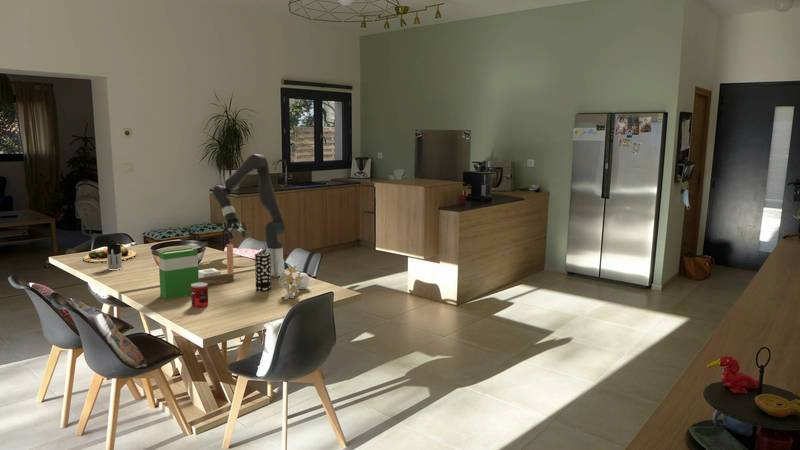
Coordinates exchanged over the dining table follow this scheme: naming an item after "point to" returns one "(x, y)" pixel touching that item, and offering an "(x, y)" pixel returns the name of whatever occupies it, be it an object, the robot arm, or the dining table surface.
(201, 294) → the canned food
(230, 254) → the terracotta dowel
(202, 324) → the dining table surface
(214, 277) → the walnut track
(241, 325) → the dining table surface
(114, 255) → the black capped bottle
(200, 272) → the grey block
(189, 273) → the green box
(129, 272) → the dining table surface
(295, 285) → the flower vase
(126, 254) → the wooden plate with food
